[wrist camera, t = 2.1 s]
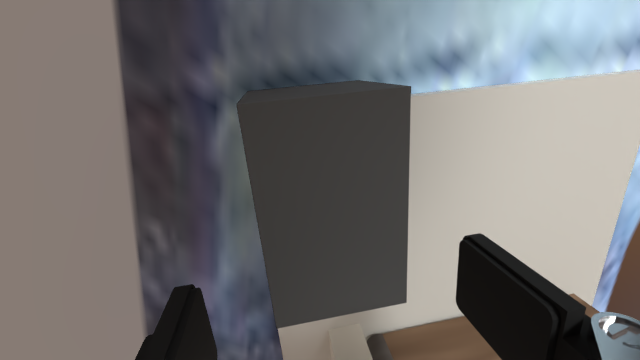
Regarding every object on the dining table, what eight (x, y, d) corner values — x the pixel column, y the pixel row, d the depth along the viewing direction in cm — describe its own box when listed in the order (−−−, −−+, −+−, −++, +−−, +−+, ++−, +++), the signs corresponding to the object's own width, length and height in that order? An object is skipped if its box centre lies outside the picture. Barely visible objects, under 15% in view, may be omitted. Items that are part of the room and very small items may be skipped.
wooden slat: (366, 335, 19) (402, 433, 14) (574, 292, 21) (673, 363, 16) (366, 352, 20) (402, 451, 14) (569, 308, 21) (664, 382, 16)
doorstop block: (247, 91, 13) (236, 104, 8) (357, 80, 14) (410, 86, 9) (272, 246, 16) (276, 328, 11) (363, 231, 17) (406, 302, 12)
